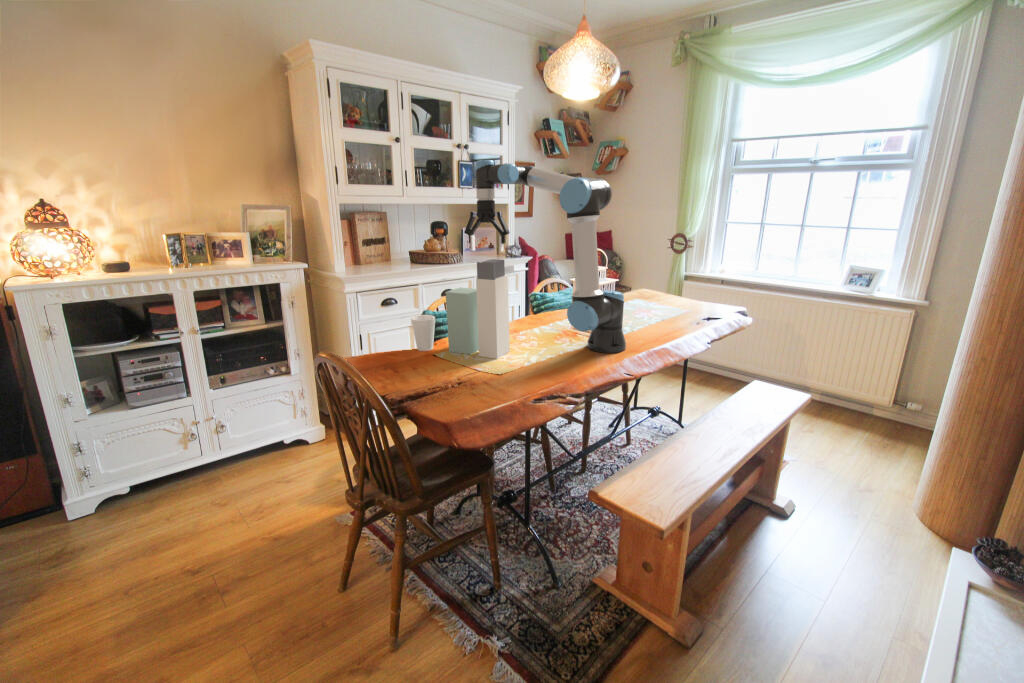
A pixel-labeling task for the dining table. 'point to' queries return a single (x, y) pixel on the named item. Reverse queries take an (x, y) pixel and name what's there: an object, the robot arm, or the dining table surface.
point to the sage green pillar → (462, 320)
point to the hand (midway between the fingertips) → (487, 251)
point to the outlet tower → (492, 312)
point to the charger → (501, 267)
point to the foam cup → (423, 331)
